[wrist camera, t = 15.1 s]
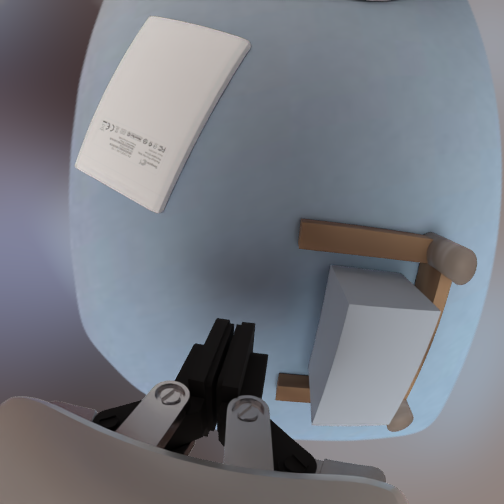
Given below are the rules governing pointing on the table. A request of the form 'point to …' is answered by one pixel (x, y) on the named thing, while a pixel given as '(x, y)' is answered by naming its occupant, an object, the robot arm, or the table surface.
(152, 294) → the table surface
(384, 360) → the tall white block
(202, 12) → the table surface
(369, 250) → the frame
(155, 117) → the external hard drive
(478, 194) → the table surface
